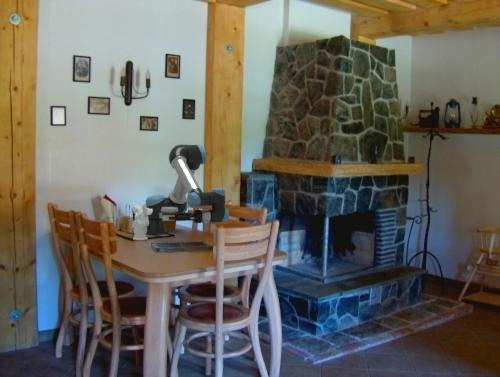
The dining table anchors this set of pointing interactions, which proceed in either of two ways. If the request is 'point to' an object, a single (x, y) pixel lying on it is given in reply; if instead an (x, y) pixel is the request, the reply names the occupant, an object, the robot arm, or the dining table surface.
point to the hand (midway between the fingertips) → (161, 216)
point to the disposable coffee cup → (169, 211)
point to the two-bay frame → (180, 246)
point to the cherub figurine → (141, 221)
